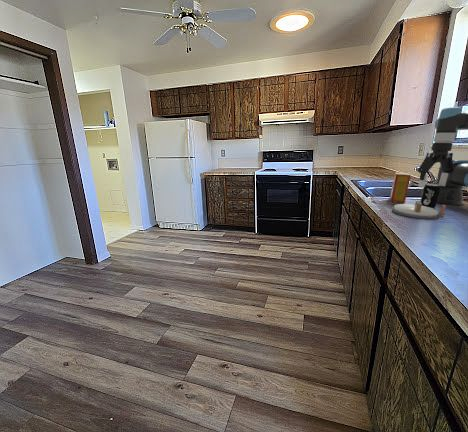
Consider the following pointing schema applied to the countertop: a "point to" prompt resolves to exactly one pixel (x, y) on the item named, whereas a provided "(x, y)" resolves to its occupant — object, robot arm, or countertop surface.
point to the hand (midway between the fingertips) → (431, 186)
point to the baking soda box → (400, 187)
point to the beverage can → (430, 195)
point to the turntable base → (422, 216)
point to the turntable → (416, 209)
